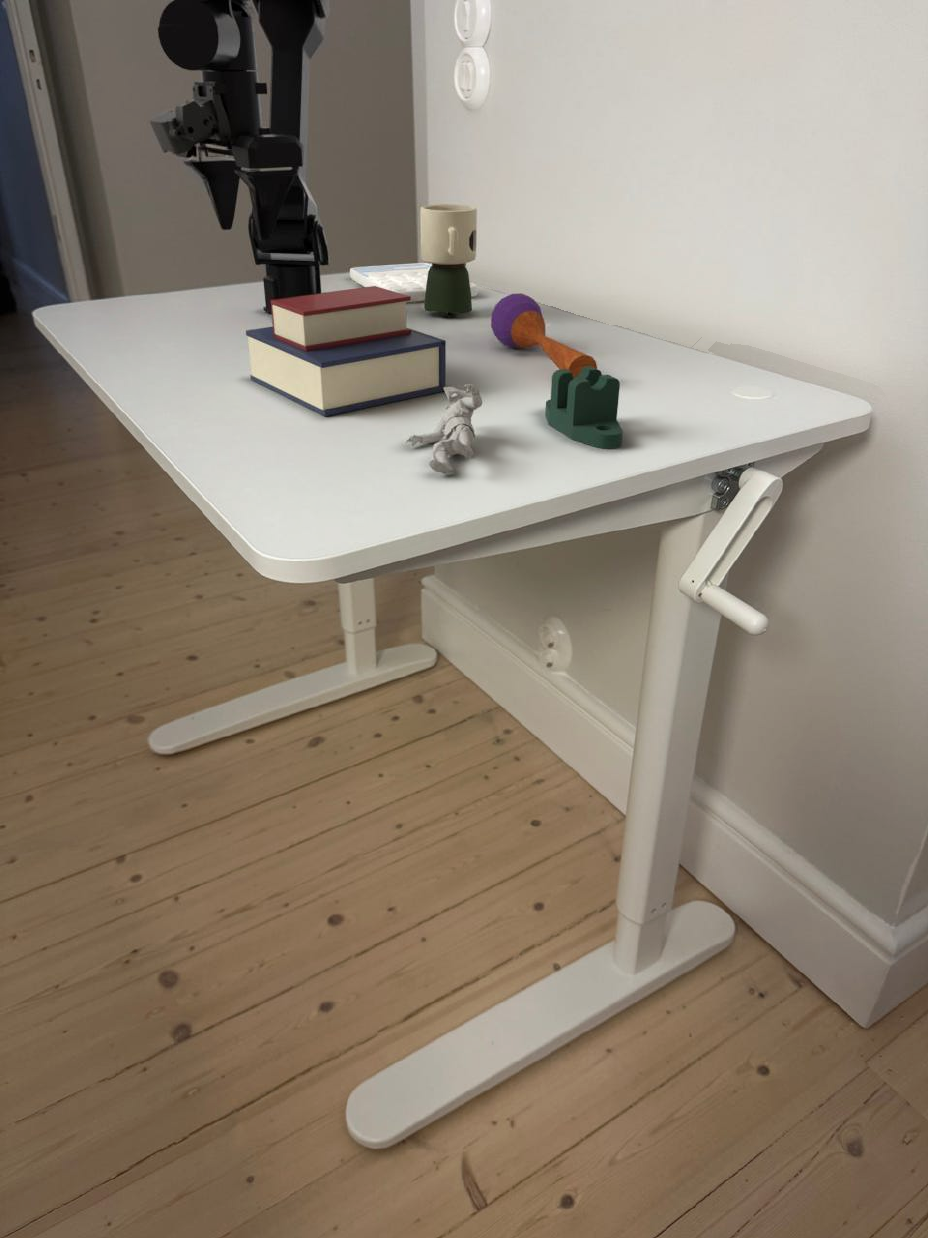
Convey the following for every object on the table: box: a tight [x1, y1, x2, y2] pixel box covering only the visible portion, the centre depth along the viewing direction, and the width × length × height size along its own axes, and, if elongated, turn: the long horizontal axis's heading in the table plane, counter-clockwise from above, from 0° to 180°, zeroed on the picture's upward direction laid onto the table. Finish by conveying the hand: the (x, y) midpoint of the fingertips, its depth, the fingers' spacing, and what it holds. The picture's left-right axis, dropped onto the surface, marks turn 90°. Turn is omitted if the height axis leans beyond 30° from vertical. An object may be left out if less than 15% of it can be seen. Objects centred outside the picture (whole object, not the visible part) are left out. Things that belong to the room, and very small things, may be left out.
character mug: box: [419, 203, 478, 317], centre depth 122 cm, size 11×7×13 cm, turn 8°
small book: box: [271, 286, 412, 351], centre depth 94 cm, size 12×6×4 cm, turn 128°
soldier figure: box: [405, 383, 483, 476], centre depth 80 cm, size 8×5×12 cm
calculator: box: [349, 262, 478, 303], centre depth 140 cm, size 13×20×2 cm, turn 23°
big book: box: [245, 326, 447, 417], centre depth 96 cm, size 14×15×5 cm
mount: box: [544, 366, 624, 450], centre depth 85 cm, size 11×4×5 cm, turn 24°
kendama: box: [490, 292, 598, 378], centre depth 104 cm, size 6×6×20 cm
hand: (245, 234), depth 105 cm, fingers open, 9 cm apart
